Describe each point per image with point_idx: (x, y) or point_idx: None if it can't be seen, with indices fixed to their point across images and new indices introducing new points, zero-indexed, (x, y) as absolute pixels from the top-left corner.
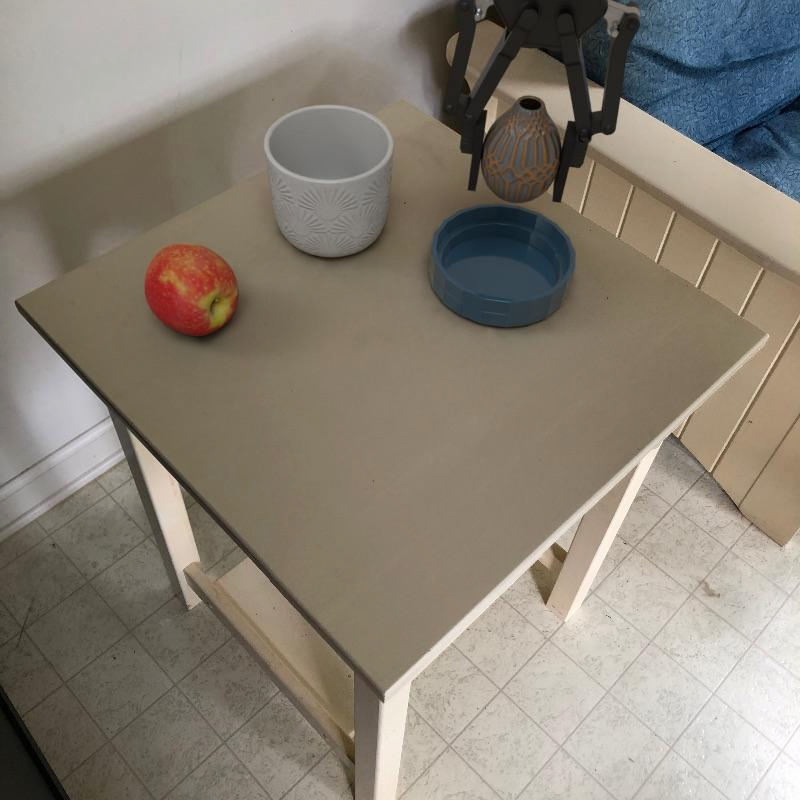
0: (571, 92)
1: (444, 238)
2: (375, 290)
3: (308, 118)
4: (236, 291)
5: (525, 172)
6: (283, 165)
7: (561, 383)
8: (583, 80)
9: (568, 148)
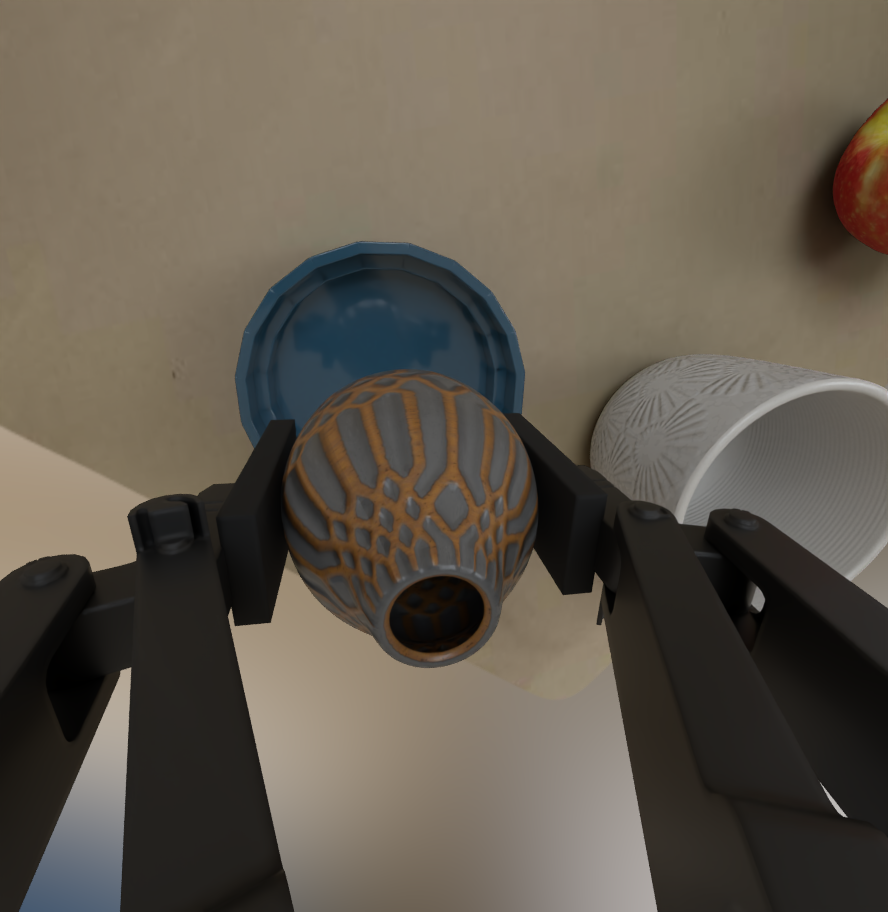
0: (231, 683)
1: None
2: (588, 309)
3: None
4: (870, 174)
5: (392, 385)
6: (797, 493)
7: (222, 111)
8: (127, 783)
9: (248, 497)
